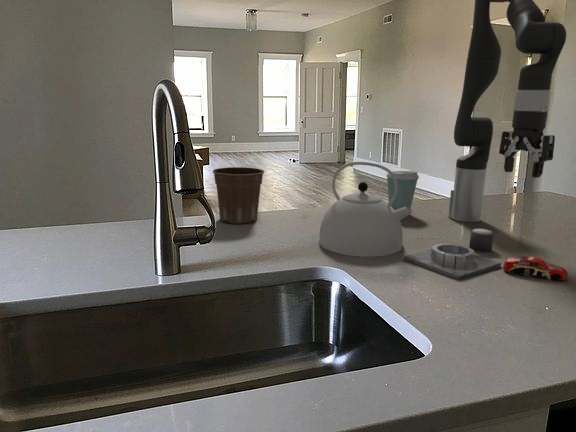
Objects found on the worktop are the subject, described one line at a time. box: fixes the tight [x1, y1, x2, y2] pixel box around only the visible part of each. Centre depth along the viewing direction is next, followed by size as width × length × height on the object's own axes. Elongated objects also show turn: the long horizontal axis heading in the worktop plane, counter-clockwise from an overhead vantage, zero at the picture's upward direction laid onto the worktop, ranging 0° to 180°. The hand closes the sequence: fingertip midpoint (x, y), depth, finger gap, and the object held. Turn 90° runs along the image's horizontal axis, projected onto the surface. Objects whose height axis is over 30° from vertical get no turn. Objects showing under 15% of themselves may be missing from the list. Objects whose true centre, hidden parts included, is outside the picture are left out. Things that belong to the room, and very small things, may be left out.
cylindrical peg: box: [468, 228, 495, 253], centre depth 125 cm, size 6×6×5 cm
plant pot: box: [212, 166, 265, 225], centre depth 151 cm, size 16×16×16 cm
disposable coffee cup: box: [386, 170, 420, 211], centre depth 161 cm, size 11×11×15 cm
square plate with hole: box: [403, 243, 502, 281], centre depth 114 cm, size 16×16×4 cm
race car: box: [502, 255, 569, 282], centre depth 108 cm, size 13×5×4 cm, turn 63°
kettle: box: [318, 161, 414, 258], centre depth 127 cm, size 25×23×22 cm
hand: (521, 174), depth 120 cm, fingers open, 8 cm apart
